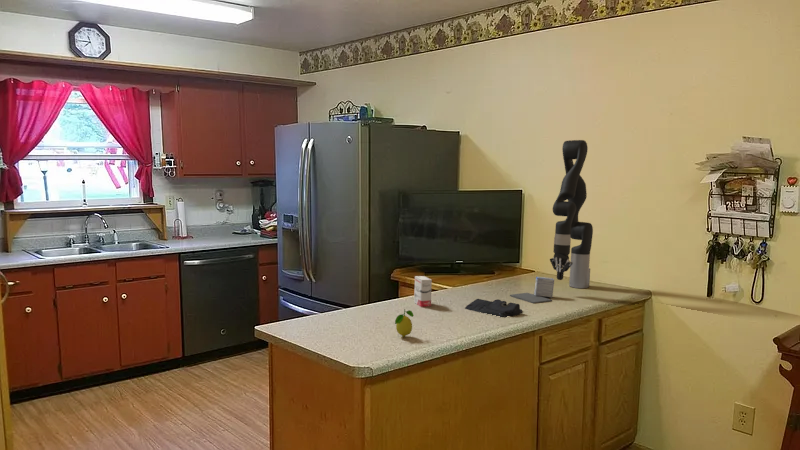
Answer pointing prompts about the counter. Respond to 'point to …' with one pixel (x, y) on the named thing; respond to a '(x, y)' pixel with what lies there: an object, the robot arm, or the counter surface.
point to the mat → (530, 298)
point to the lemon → (404, 323)
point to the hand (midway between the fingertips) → (559, 279)
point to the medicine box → (544, 286)
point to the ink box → (422, 291)
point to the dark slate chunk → (495, 307)
